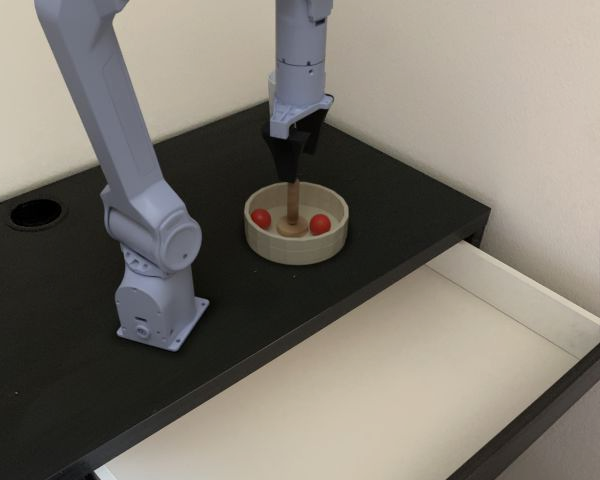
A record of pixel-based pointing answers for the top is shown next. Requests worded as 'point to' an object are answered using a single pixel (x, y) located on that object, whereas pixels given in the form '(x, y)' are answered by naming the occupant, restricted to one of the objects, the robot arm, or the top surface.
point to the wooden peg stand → (292, 215)
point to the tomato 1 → (261, 218)
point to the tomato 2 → (319, 224)
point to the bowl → (310, 204)
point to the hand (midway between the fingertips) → (297, 166)
